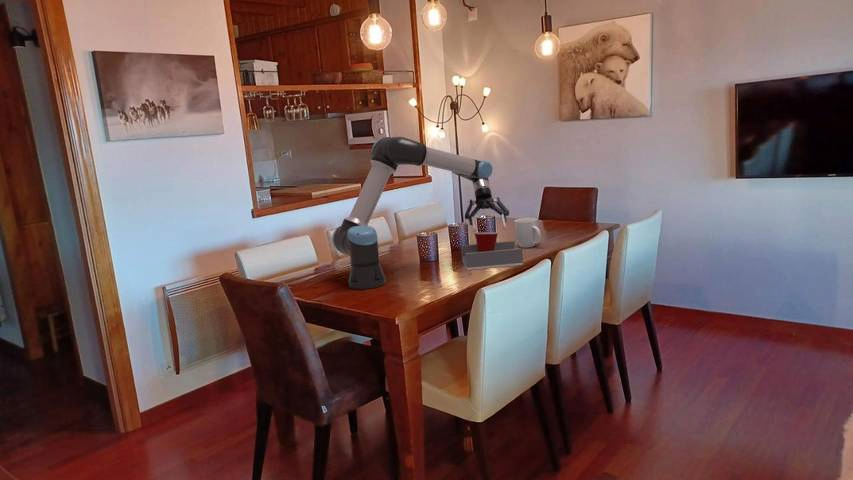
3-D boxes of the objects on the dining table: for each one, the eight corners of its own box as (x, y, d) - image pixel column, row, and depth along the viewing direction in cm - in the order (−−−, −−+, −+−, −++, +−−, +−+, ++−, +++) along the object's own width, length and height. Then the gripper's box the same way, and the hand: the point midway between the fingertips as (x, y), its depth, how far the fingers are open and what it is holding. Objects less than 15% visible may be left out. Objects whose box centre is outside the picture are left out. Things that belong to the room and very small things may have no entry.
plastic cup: (468, 257, 263) (470, 230, 262) (490, 258, 266) (492, 232, 266) (478, 259, 252) (479, 231, 252) (501, 260, 256) (502, 232, 255)
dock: (467, 270, 249) (465, 254, 248) (462, 260, 267) (461, 245, 266) (523, 264, 250) (522, 248, 249) (514, 255, 268) (513, 240, 266)
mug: (549, 246, 280) (548, 219, 277) (532, 251, 274) (530, 223, 271) (527, 243, 292) (526, 217, 290) (510, 247, 286) (509, 220, 284)
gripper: (508, 194, 277) (516, 231, 265) (455, 199, 276) (461, 236, 264) (510, 184, 271) (518, 221, 259) (456, 189, 270) (461, 226, 258)
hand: (489, 229), depth 262 cm, fingers open, 13 cm apart
